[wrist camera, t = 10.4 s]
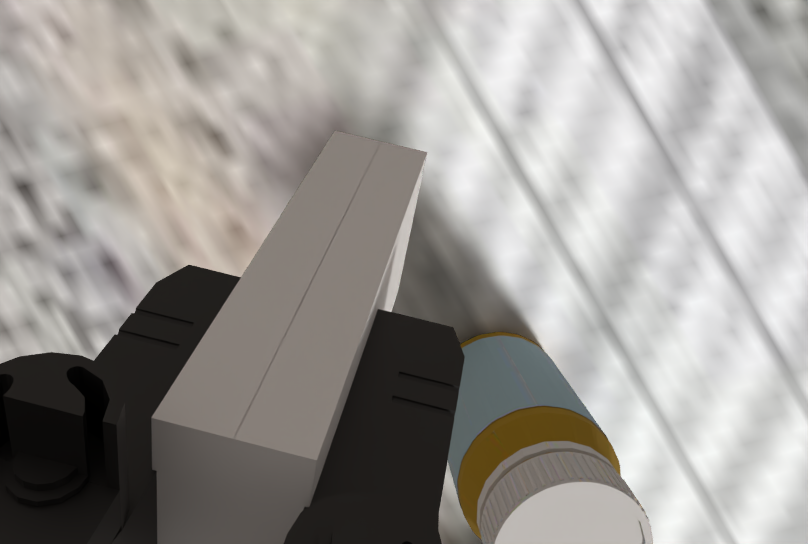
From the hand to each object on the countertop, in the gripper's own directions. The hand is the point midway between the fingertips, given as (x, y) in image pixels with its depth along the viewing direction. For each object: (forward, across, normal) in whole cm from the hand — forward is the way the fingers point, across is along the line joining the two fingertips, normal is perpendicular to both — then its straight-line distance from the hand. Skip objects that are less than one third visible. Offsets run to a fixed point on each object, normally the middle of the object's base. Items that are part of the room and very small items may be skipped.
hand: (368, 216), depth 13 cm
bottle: (+22, +6, -22) cm, 32 cm away
